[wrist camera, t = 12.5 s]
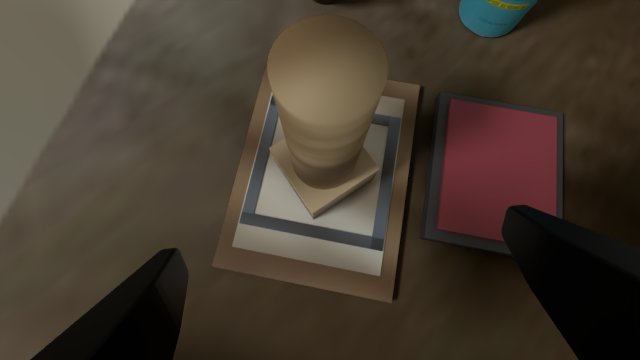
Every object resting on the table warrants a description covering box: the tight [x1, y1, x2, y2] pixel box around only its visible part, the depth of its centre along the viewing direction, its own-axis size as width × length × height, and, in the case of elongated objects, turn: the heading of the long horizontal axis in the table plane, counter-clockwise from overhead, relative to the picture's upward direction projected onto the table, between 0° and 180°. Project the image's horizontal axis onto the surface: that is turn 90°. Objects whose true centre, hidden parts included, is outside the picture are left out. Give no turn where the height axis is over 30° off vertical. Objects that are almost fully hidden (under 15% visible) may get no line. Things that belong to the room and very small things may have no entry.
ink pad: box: [420, 92, 563, 257], centre depth 23 cm, size 11×9×1 cm
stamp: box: [267, 15, 388, 220], centre depth 17 cm, size 5×5×12 cm
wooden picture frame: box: [212, 60, 420, 303], centre depth 23 cm, size 16×12×1 cm
